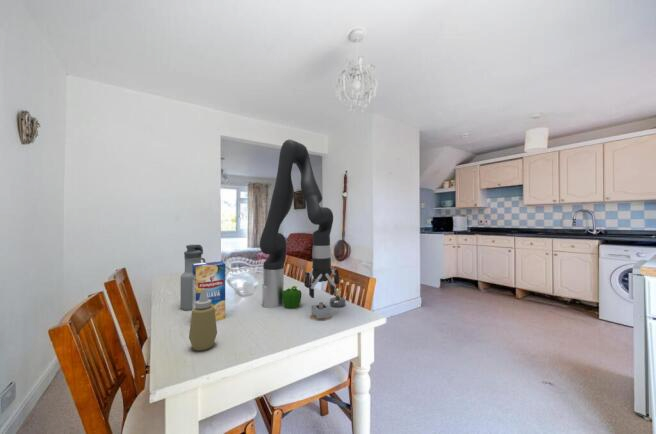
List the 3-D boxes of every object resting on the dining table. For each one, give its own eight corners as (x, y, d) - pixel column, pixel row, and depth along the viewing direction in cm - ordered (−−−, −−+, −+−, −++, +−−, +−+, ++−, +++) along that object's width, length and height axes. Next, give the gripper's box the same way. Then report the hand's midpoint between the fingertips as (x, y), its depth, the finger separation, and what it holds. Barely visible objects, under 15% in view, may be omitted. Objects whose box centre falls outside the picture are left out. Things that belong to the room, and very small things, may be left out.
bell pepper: (279, 306, 120) (279, 284, 120) (295, 303, 125) (295, 282, 125) (287, 312, 113) (288, 289, 113) (304, 308, 118) (304, 286, 118)
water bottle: (189, 302, 126) (189, 243, 125) (209, 303, 125) (209, 243, 125) (175, 310, 115) (175, 246, 115) (196, 311, 115) (196, 246, 114)
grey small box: (316, 320, 104) (316, 310, 104) (311, 314, 109) (311, 305, 109) (330, 318, 106) (330, 308, 106) (325, 312, 112) (325, 303, 112)
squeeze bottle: (195, 341, 87) (195, 286, 87) (220, 340, 88) (220, 286, 88) (184, 353, 79) (184, 293, 79) (212, 352, 80) (212, 293, 80)
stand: (314, 323, 102) (314, 308, 102) (307, 315, 110) (307, 301, 110) (335, 320, 105) (335, 305, 105) (327, 312, 114) (327, 298, 113)
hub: (331, 311, 115) (332, 292, 115) (323, 304, 124) (323, 287, 124) (352, 308, 119) (352, 290, 119) (342, 301, 128) (342, 284, 128)
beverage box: (192, 319, 106) (192, 264, 106) (220, 313, 112) (221, 261, 112) (195, 324, 100) (195, 266, 100) (225, 318, 107) (225, 263, 107)
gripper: (333, 254, 114) (334, 291, 114) (302, 256, 108) (302, 296, 108) (341, 256, 107) (342, 296, 107) (308, 258, 101) (308, 301, 101)
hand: (322, 296), depth 108 cm, fingers open, 8 cm apart
